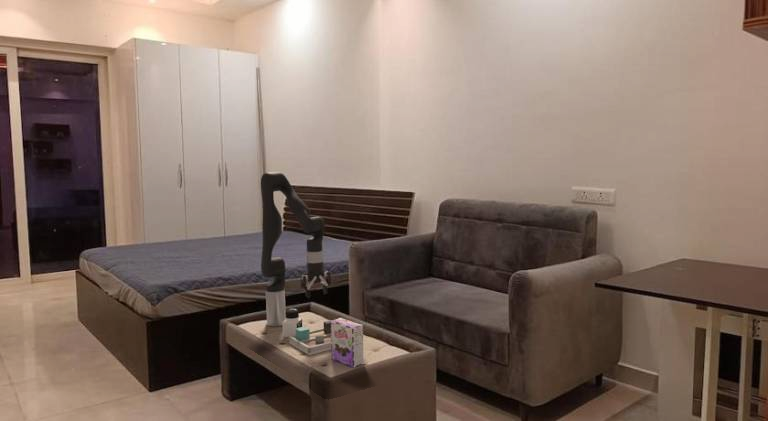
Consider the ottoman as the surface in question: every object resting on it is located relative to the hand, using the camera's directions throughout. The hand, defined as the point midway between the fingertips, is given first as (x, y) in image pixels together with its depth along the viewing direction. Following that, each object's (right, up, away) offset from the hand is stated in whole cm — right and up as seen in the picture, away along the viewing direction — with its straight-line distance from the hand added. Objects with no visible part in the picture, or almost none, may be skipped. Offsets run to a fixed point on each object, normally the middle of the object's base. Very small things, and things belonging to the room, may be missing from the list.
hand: (316, 295), depth 252 cm
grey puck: (+3, -18, -13) cm, 23 cm away
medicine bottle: (-12, -19, +4) cm, 23 cm away
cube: (-5, -18, -8) cm, 20 cm away
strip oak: (0, -20, -4) cm, 20 cm away
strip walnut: (+5, -20, -11) cm, 24 cm away
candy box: (+16, -22, -29) cm, 40 cm away
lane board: (+2, -20, -8) cm, 22 cm away
